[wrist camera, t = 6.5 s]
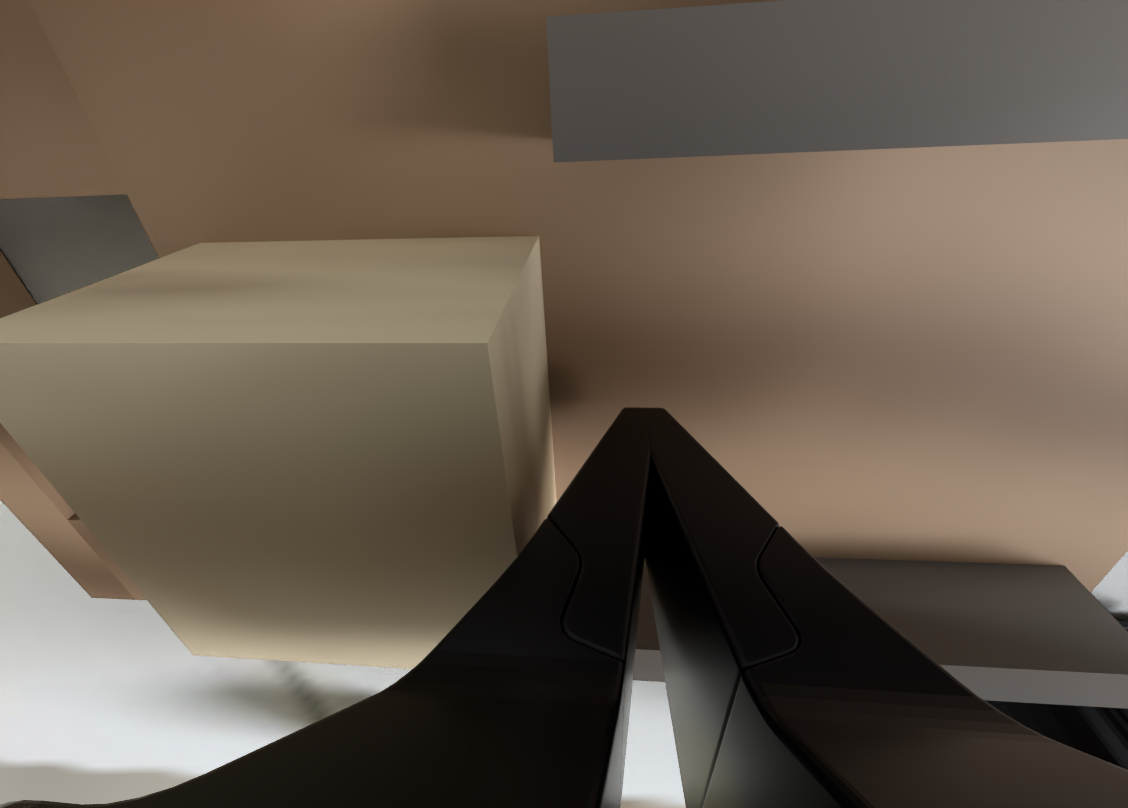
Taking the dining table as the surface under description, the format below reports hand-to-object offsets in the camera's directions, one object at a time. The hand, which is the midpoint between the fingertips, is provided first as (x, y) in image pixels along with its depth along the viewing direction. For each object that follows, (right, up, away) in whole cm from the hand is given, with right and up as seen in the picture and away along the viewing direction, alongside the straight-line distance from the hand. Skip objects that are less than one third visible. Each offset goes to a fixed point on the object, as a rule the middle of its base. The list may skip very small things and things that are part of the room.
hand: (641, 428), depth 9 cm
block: (-5, +1, +1) cm, 5 cm away
